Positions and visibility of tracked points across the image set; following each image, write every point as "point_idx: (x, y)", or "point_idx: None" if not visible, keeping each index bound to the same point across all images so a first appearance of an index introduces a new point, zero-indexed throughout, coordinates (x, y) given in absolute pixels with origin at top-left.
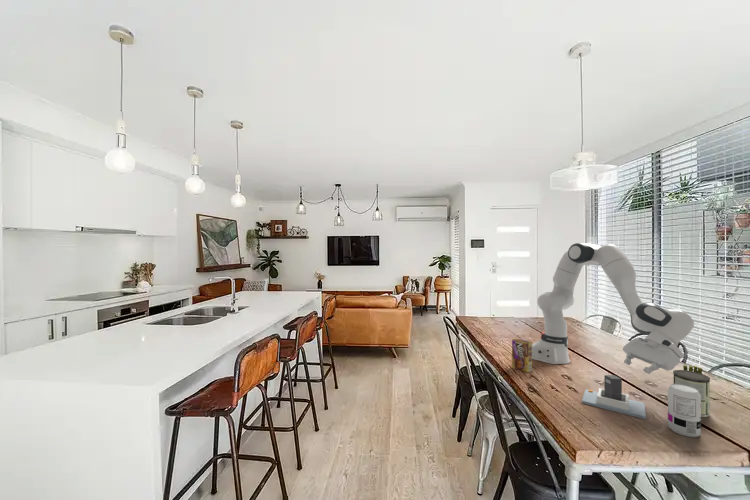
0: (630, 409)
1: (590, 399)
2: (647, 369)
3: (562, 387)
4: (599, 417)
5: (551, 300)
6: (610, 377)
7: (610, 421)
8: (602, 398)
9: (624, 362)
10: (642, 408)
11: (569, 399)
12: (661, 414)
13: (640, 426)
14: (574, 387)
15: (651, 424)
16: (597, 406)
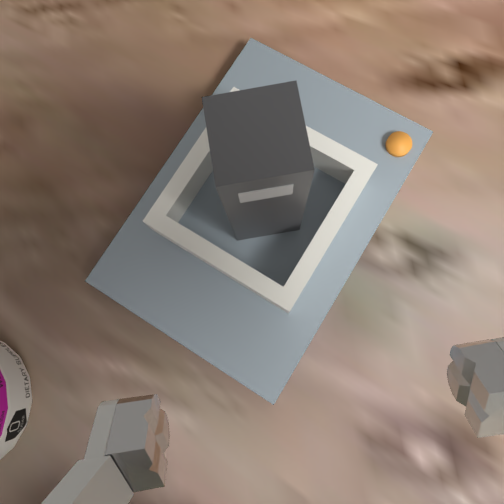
0: (166, 248)
1: None
2: (94, 424)
3: (461, 28)
4: (98, 61)
5: None
6: (239, 102)
7: (62, 92)
8: None
9: (496, 342)
10: (186, 331)
11: (288, 4)
12: None
13: (20, 206)
14: (479, 98)
15: (41, 277)
16: None
